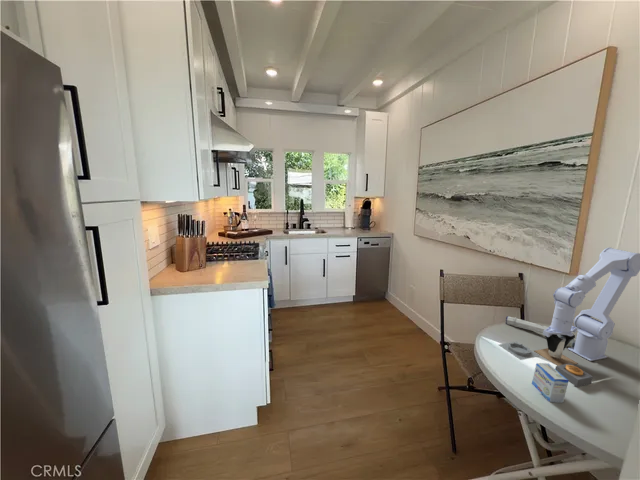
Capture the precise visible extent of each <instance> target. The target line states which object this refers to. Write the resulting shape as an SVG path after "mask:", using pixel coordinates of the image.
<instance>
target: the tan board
mask: <svg viewBox="0 0 640 480" xmlns="http://www.w3.org/2000/svg"><path fill="white" fill-rule="evenodd" d="M548 351H549V349H548V347H546V348H542V349H537V350H533V352H535V353H536V354H538V355H540V357H542V358H543V359H545V360H547V361H549V362H551V363H552V364H554V365H555V366H559V365H564V364H568V363H571V364H573V365H574V366H575V365H578V364H579V362H577V361H574V360H573V359H571V358H569V357H567V356H566V355H564V354H562V357H561V358H555V357H553V356H551V355H549V354H548Z"/></svg>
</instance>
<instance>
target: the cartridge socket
mask: <svg viewBox="0 0 640 480" xmlns="http://www.w3.org/2000/svg"><path fill="white" fill-rule="evenodd" d="M498 346H499V347H501V348H502V349H504V350H505V351H507V352H508V353H510V354H511V355H513V356H514V357H515V358H517V359H519V360H520V361H523V360H527V359H531V358H536V357H541V355H539V354H537V353H536V352H534V350H531V349H530V348H529V347H528V346H526V345H525V344H523V343H521V342H518V341H511V342H506V343H501V344H500V343H499V344H498Z"/></svg>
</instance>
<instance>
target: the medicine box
mask: <svg viewBox="0 0 640 480" xmlns="http://www.w3.org/2000/svg"><path fill="white" fill-rule="evenodd" d="M555 368H556V367H554V366H552V365H551V364H550V363H547V362H546V363H545V362H536V364H535V369H534V371H533V375H532V380H531V384H532V386H533V387H534V388H536V389H537V391H538V392H539V393H540V394H541V395H542V396H543V397H544V398H545V399H546V401H548V402H549V403H558V404H560V403H563V404H564V400H565V397H566V392H567V389H568V384H569V383H570V382H569V380H568V379H566V378H565V377H564V376H563V375H562V374H560V373H559V372H558V371H557V370H556V369H555Z"/></svg>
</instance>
